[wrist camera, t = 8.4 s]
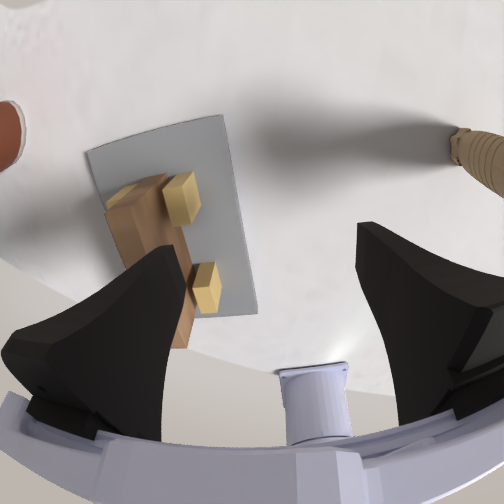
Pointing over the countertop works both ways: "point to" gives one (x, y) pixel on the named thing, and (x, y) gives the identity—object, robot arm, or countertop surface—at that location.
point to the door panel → (153, 239)
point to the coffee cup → (11, 133)
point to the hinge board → (190, 204)
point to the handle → (480, 157)
